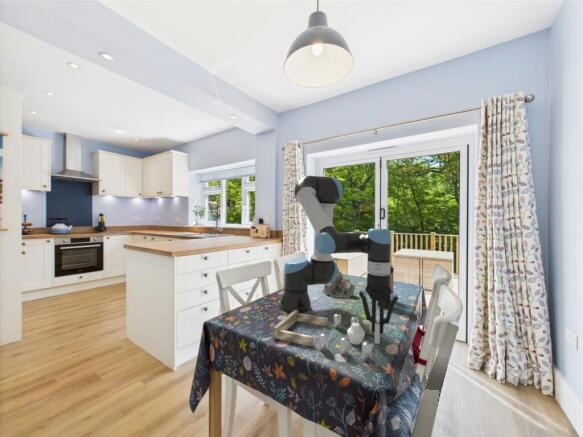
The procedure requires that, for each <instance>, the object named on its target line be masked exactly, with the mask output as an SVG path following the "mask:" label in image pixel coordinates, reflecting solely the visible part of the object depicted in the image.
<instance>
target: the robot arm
mask: <svg viewBox="0 0 583 437" xmlns="http://www.w3.org/2000/svg"><path fill="white" fill-rule="evenodd" d="M293 190H294V192H293V194H294V198H295V200H296V202H297V203H298V204H300V205H301V207H302V208H303V209H302V210H304V213H305V214H306V216H307V218H308V220H309V222H310V224H311V226H312V229H313V230H314V244H313V254H312V255H311V256H310V261H309V260H308V259H307V258H303V257H302V258H293V259H290V260H287V261H286V262H285V263H284V270H283V273H284V274H283V276H284V277H283V278H284V279H283V293H282V296H281V300H280V302H279V303H280V304H279V307H280V310H282V311H284V312H287V313H292V312H293V311H294V310H298V313H306V312H308V311H310V310H311V308H312V302H311V299H310V295H309V291H308V287H309V286H315V285H324V284H329V283H332V282H334V281H335V279H336V277H337V274H338V269H339V267H338V263H337V262H336V261H335V260H334V259H335V258H334V257H333V256H332V254H351V253H352V254H355V253H361V254H366V255H367V266H366V268H367V269H366V270H367V272H368V273H367V274H366V275H367V276H366V286H365V289H362V290H360V291H359V292H358V295H359V297H360V299H361V302H362V305H363V306H362V307H363V310H364V314H365V319H366V321H368V322H369V321H371V323H372V332H375V336H374V343H375V344H377V345H379V344H380V342H381V335H382V334H383V333H384V325H385V324H387V325H388V324H389V323H390V320H391V317H392V313H393V310H394V307H395V304H396V302H398V299H399V296H398V295H397V294H395V293H394V292H393V293H392V291H391V289H390V275H389V274H390V266H391V260H392V259H391V257H392V256H391V254H392V253H391V252H392V251H391V250H392V236H391V235H392V232H391V231H390V230H389V229H387V228H369V229H368V231H367V232H361V231H353V232H338V230H337V229H336V227H335V225H334V223H333V221H334V219H333V218H334V208H335V207H336V206H337V203H338V201H340V200H341V199H342V195H343V186H342V183H341V182H340V180H339V179H338V178H336V177H332V176H320V175H319V176H317V175H305V176H303V177H301V178H300V179H299V180H298V181H297V182H296V184H295V187H294V189H293ZM367 295H368V296H369V297H370V299H371V313H370V308H369V303H368V299H367ZM389 296H391V297H390V299H391V302H390V305H389V309H387V313H386V317H385V308H384V301H385V300H386V299H387V298H388V297H389ZM377 301H380V307H379V321H377Z"/></svg>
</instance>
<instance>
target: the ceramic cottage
mask: <svg viewBox="0 0 583 437" xmlns="http://www.w3.org/2000/svg"><path fill="white" fill-rule="evenodd" d="M323 286H324V287H323V289H322V292H323V293H324V294H326V295H325V296H327V295H330V296H329V297H332V296H333V297H334V296H340V297H339V298H343V297H349V298H352V297H351V296H354V297H355V289H356V287H355V285H353V283H352V282H351V278H345V277H344V276H343V274H342V271H340V270H339V268H338V274H337V277H336V279H335V281H334V282H332V283H329V284H323ZM324 294H323V295H324Z"/></svg>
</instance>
